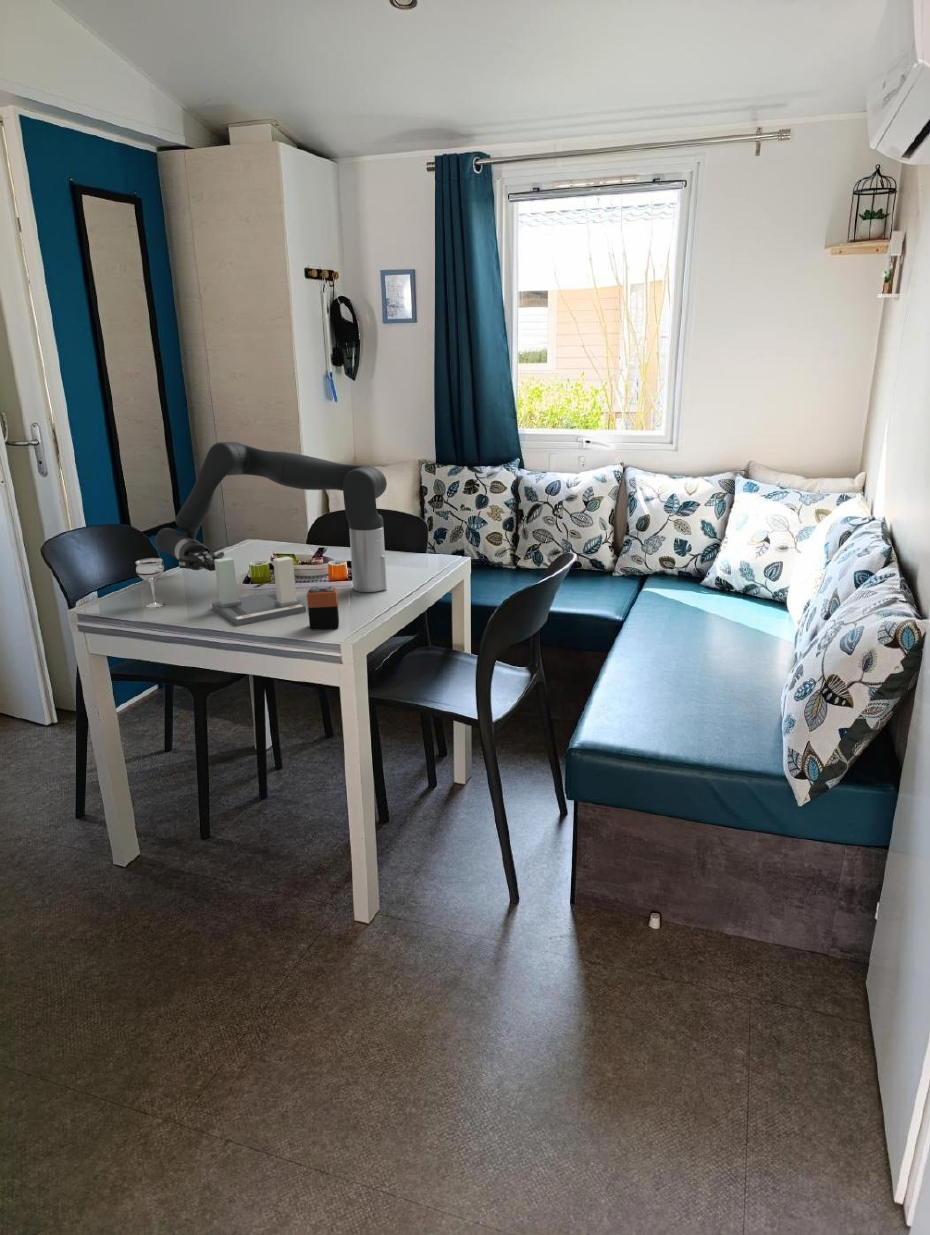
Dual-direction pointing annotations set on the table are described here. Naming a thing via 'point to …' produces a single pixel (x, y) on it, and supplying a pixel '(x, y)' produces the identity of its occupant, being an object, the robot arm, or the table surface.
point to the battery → (323, 608)
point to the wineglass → (150, 573)
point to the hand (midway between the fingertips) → (212, 566)
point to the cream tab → (285, 582)
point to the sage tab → (226, 582)
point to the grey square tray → (257, 609)
